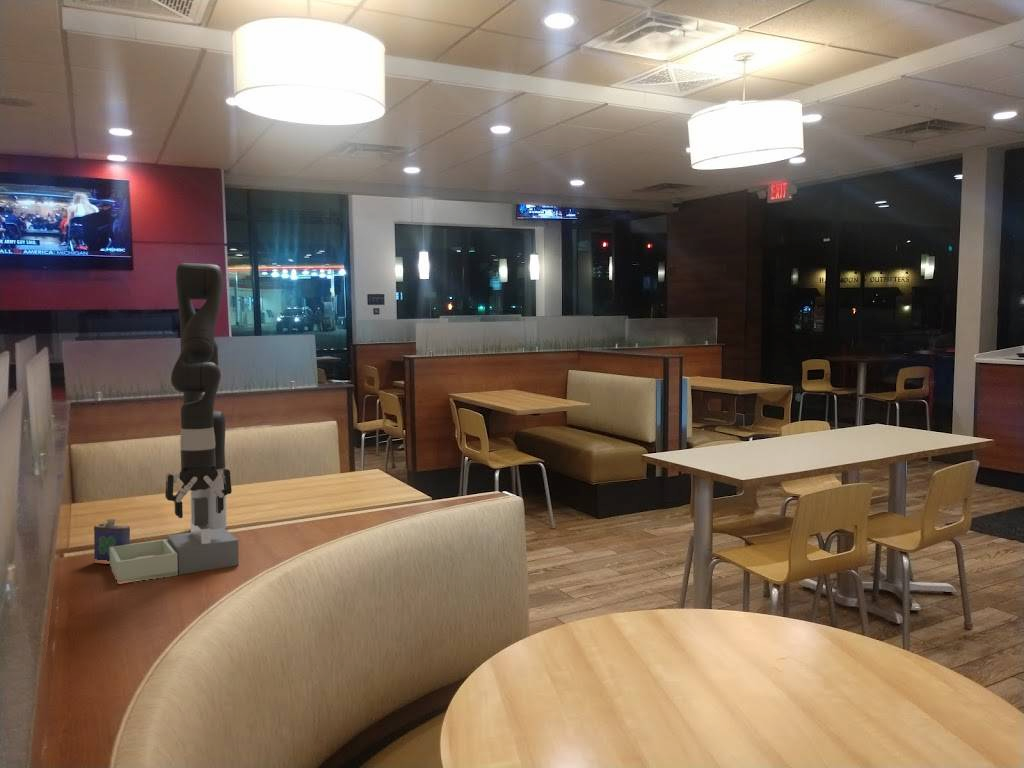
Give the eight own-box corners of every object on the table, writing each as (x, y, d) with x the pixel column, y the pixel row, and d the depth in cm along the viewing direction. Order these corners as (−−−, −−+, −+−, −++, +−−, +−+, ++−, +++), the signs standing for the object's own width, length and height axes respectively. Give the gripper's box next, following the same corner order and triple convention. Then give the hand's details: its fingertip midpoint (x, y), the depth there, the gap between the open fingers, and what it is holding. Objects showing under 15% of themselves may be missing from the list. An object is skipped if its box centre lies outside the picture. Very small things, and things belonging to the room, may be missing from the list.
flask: (133, 562, 177) (131, 518, 177) (124, 566, 175) (122, 521, 174) (99, 560, 179) (98, 516, 179) (90, 564, 176) (88, 519, 176)
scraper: (188, 534, 180) (187, 495, 180) (201, 532, 182) (200, 493, 182) (199, 544, 170) (198, 503, 170) (213, 543, 172) (212, 502, 172)
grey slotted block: (168, 560, 180) (167, 535, 179) (224, 551, 187) (224, 528, 186) (178, 574, 168) (178, 548, 168) (238, 565, 175) (238, 539, 175)
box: (110, 568, 173) (109, 546, 173) (166, 559, 180) (165, 539, 180) (117, 585, 161) (117, 562, 160) (177, 575, 167) (177, 553, 167)
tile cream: (153, 554, 176) (153, 559, 176) (134, 557, 174) (135, 562, 174) (156, 558, 173) (156, 563, 173) (137, 561, 171) (137, 566, 171)
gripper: (225, 443, 183) (227, 508, 184) (162, 447, 175) (164, 516, 176) (233, 446, 177) (234, 514, 177) (167, 451, 169) (169, 522, 169)
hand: (199, 515), depth 176 cm, fingers open, 8 cm apart
